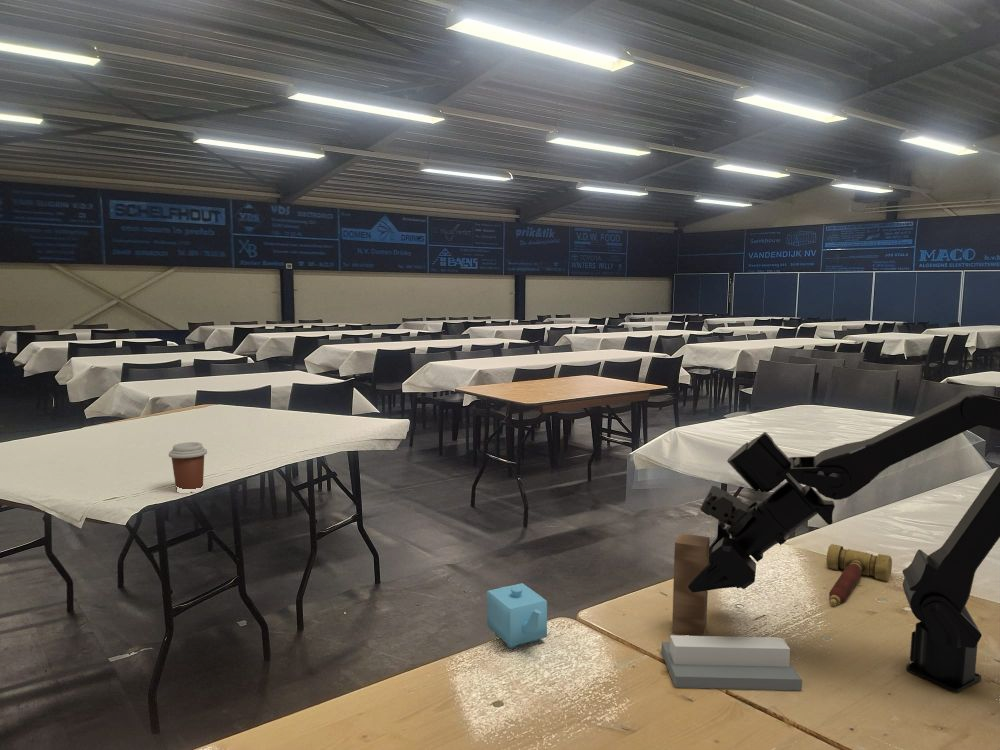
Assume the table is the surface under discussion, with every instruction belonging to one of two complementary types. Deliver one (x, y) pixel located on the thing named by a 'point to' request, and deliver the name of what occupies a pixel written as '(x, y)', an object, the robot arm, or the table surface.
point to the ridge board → (731, 676)
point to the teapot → (516, 614)
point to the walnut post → (687, 566)
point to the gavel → (854, 569)
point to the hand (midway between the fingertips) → (694, 577)
